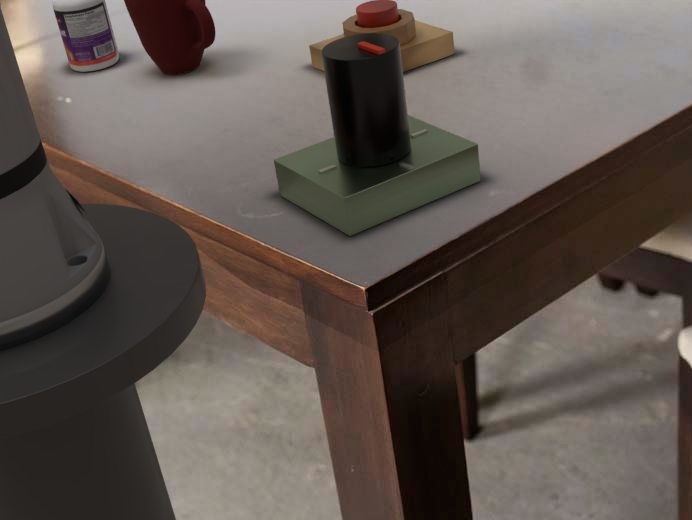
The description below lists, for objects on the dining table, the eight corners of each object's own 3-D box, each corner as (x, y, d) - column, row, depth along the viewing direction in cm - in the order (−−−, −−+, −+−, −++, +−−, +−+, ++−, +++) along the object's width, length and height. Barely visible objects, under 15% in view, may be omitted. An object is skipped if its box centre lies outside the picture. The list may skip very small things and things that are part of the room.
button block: (362, 87, 103) (356, 45, 101) (312, 67, 110) (305, 26, 108) (454, 54, 108) (451, 12, 106) (401, 36, 114) (397, -3, 112)
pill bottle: (74, 59, 121) (48, -32, 116) (122, 52, 121) (99, -39, 116) (67, 75, 117) (39, -18, 111) (117, 68, 117) (92, -26, 112)
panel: (349, 236, 79) (343, 196, 77) (279, 195, 86) (272, 157, 84) (480, 180, 84) (478, 141, 82) (404, 146, 91) (400, 109, 89)
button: (373, 33, 105) (370, 15, 104) (350, 25, 108) (347, 7, 106) (407, 22, 106) (405, 3, 105) (383, 14, 109) (381, -4, 108)
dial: (323, 153, 84) (306, 45, 79) (383, 130, 86) (369, 23, 82) (364, 173, 80) (348, 61, 75) (426, 149, 82) (414, 38, 78)
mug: (253, 61, 114) (234, -40, 108) (199, 89, 109) (176, -15, 103) (180, 51, 119) (159, -45, 114) (126, 77, 114) (100, -22, 108)
